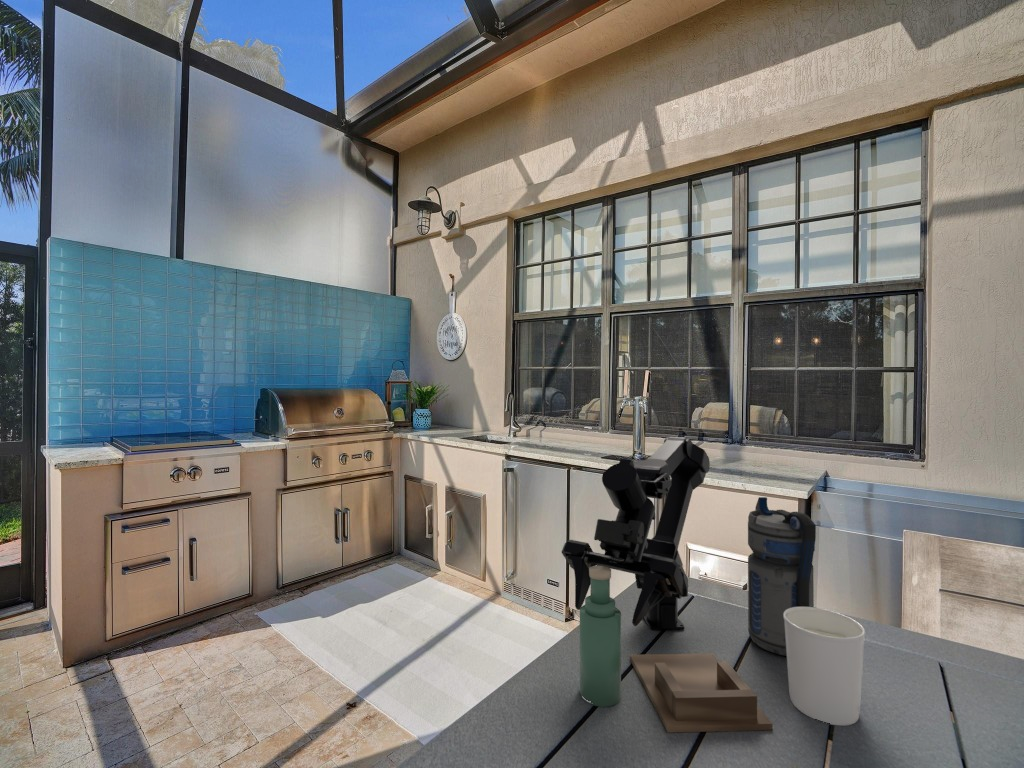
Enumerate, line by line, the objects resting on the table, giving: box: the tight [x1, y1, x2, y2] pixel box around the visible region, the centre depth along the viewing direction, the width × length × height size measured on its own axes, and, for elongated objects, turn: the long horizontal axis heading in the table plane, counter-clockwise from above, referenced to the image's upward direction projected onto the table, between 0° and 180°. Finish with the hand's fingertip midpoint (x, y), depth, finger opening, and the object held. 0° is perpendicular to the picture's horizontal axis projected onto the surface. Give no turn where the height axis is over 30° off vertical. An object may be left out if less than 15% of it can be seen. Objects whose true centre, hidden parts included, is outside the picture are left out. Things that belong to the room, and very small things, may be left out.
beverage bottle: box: [747, 496, 817, 657], centre depth 86 cm, size 10×13×25 cm
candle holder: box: [783, 607, 866, 727], centre depth 69 cm, size 10×10×12 cm
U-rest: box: [629, 652, 773, 733], centre depth 73 cm, size 18×14×4 cm
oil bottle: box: [579, 565, 622, 708], centre depth 72 cm, size 6×6×18 cm
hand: (604, 616), depth 74 cm, fingers open, 9 cm apart
